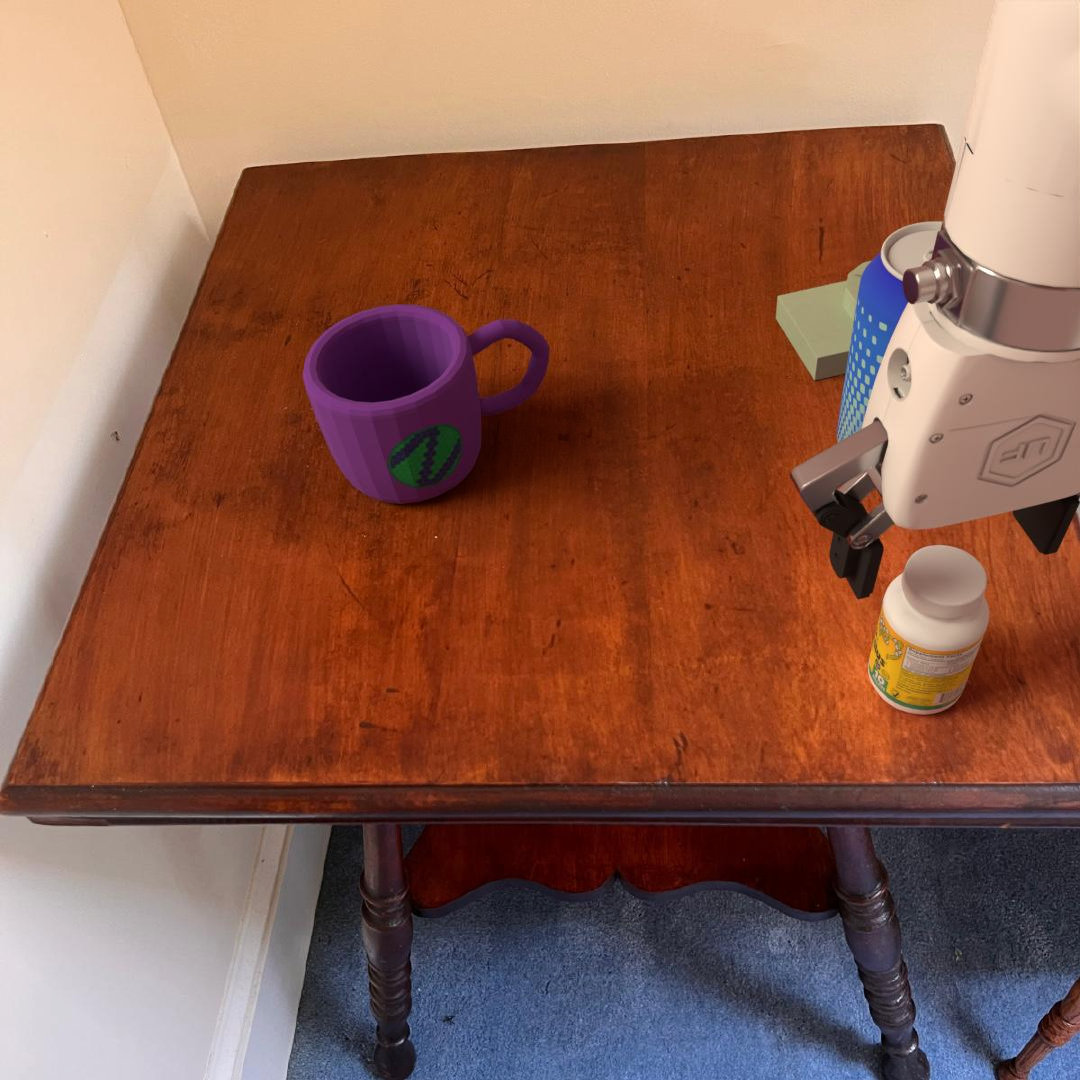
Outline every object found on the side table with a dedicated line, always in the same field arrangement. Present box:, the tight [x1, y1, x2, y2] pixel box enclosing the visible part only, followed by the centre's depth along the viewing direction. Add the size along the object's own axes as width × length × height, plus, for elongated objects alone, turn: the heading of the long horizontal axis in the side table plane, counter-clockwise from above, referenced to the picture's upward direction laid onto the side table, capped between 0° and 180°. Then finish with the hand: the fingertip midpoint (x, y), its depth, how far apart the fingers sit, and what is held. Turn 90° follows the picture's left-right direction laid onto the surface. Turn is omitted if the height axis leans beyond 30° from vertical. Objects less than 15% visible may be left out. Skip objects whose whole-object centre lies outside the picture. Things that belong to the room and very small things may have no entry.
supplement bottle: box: [867, 544, 990, 716], centre depth 56 cm, size 5×5×10 cm
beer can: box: [836, 221, 943, 443], centre depth 66 cm, size 8×8×16 cm
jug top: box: [775, 260, 872, 381], centre depth 79 cm, size 11×8×4 cm
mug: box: [302, 303, 550, 505], centre depth 73 cm, size 17×11×10 cm, turn 116°
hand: (942, 554), depth 52 cm, fingers open, 9 cm apart
